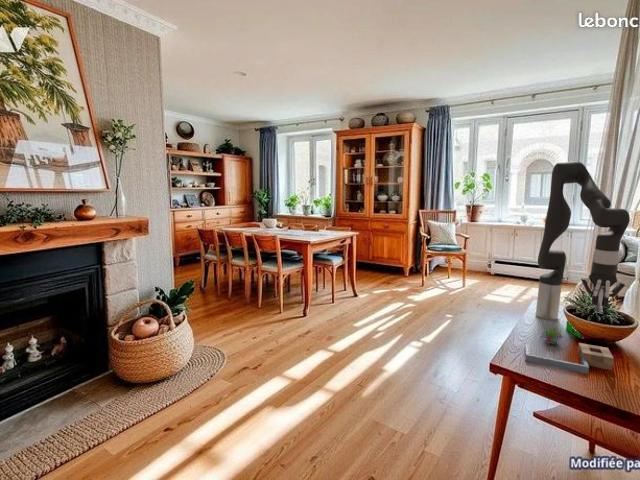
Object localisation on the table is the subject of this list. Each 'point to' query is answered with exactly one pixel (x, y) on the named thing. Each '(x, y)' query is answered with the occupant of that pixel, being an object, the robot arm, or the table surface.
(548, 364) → the open frame
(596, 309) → the cylinder
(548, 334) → the geometric puzzle
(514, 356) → the table surface
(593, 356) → the slotted tan block
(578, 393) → the table surface
